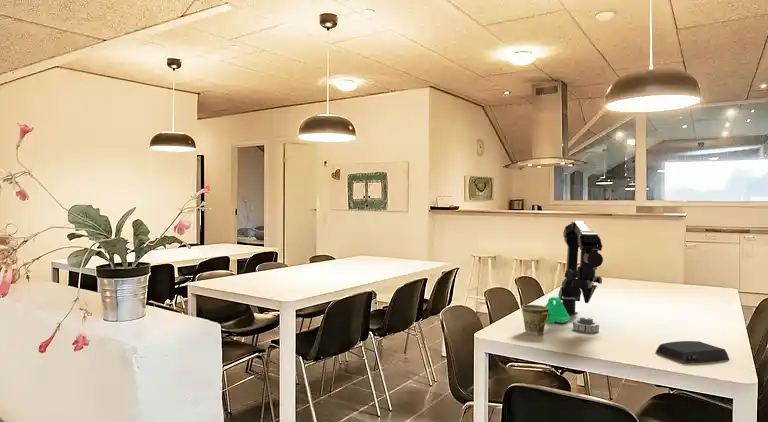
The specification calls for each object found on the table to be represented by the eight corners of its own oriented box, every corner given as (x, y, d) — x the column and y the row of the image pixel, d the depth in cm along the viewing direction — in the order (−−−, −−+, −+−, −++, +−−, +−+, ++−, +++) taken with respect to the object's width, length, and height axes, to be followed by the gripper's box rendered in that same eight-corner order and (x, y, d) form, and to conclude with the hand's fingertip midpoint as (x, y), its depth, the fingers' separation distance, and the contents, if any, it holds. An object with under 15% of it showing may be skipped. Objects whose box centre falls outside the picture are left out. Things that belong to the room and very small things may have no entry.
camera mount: (534, 320, 224) (535, 296, 223) (542, 317, 229) (542, 294, 229) (562, 325, 216) (563, 300, 216) (569, 322, 222) (569, 298, 222)
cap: (581, 326, 212) (581, 316, 212) (594, 328, 209) (594, 318, 208) (577, 328, 208) (577, 318, 208) (590, 331, 205) (590, 320, 205)
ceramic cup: (515, 330, 204) (516, 305, 204) (536, 328, 208) (536, 303, 208) (537, 339, 192) (538, 312, 192) (559, 337, 196) (559, 310, 196)
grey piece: (577, 325, 215) (577, 318, 215) (601, 329, 209) (601, 322, 209) (569, 329, 207) (569, 322, 207) (594, 334, 202) (594, 326, 201)
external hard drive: (653, 354, 178) (653, 342, 178) (697, 350, 184) (697, 339, 184) (685, 365, 166) (685, 353, 166) (731, 361, 172) (732, 349, 172)
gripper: (575, 260, 220) (574, 297, 220) (559, 263, 205) (558, 303, 206) (603, 262, 213) (601, 300, 213) (588, 266, 198) (586, 307, 199)
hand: (586, 302), depth 208 cm, fingers closed
